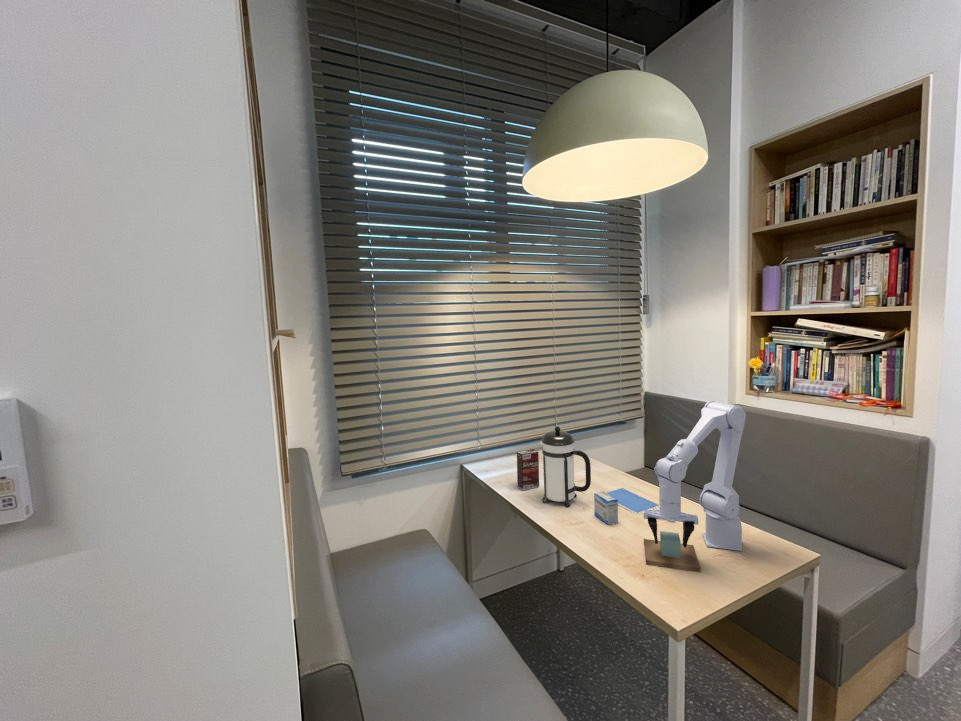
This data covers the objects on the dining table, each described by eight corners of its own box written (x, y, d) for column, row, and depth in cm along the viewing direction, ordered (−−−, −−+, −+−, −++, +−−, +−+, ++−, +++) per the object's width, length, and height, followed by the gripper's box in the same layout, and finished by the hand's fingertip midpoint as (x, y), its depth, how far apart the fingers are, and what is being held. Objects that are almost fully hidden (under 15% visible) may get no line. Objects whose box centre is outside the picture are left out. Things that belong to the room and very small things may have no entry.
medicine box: (594, 515, 147) (593, 492, 146) (604, 513, 148) (603, 490, 147) (608, 525, 139) (607, 501, 138) (618, 522, 141) (618, 498, 140)
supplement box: (522, 491, 170) (521, 455, 169) (517, 487, 175) (515, 452, 174) (540, 487, 174) (538, 451, 173) (534, 483, 178) (533, 448, 177)
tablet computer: (661, 508, 151) (661, 504, 151) (637, 516, 146) (637, 513, 145) (622, 490, 168) (622, 487, 168) (599, 497, 163) (599, 494, 163)
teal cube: (678, 549, 121) (678, 533, 120) (680, 558, 116) (680, 541, 116) (660, 546, 123) (660, 530, 122) (661, 555, 118) (661, 539, 117)
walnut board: (693, 548, 123) (693, 545, 123) (700, 572, 111) (700, 567, 111) (643, 542, 127) (643, 538, 127) (645, 564, 116) (645, 560, 116)
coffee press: (550, 511, 151) (547, 433, 148) (535, 494, 167) (533, 423, 164) (592, 505, 155) (590, 429, 152) (574, 489, 170) (572, 420, 168)
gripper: (644, 502, 117) (644, 547, 118) (700, 508, 112) (700, 554, 113) (642, 492, 123) (643, 535, 124) (695, 497, 118) (695, 541, 120)
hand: (670, 543), depth 119 cm, fingers open, 7 cm apart
